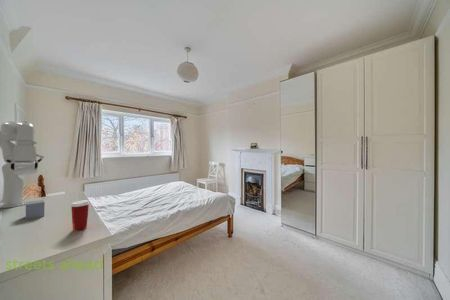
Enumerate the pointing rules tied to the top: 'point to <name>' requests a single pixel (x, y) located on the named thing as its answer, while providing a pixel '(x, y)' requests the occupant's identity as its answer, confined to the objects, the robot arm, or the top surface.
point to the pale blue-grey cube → (34, 209)
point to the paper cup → (79, 214)
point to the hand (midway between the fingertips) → (24, 169)
